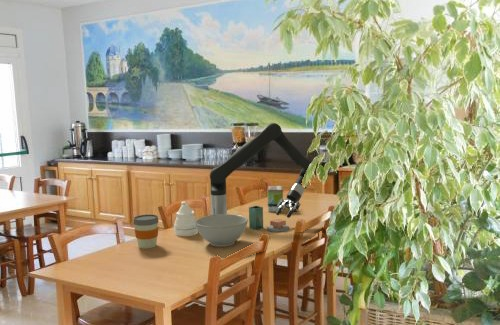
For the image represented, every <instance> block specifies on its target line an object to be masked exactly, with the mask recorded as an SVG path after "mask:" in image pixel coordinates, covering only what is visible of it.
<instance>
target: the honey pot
mask: <svg viewBox="0 0 500 325" xmlns="http://www.w3.org/2000/svg"><path fill="white" fill-rule="evenodd" d="M180 203H181V205H180V208H179V209H178V211H177V212H175V214H176V218H175V221H174V225H173V229H174V236H177V237H189V236H190V237H191V236H195V235H196V234H198V233H199V232H198V230H197V227H196V224H195V221H196V220H197V219H196V216H195V215H194V214H195V211H194V210H192V208H191V207H190V206H189V205H188V204H187V202H186V201H180Z"/></svg>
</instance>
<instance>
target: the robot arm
mask: <svg viewBox="0 0 500 325" xmlns="http://www.w3.org/2000/svg"><path fill="white" fill-rule="evenodd" d="M272 141H274V142H275V143H277V145H279V147H280V148H281V149H282V151H283V152H284V153H285V154H286V155H287V156H288V158H289V159H290V160H291V161H292V162H293V164H295V165H296V166H298V167H301V168H302V169H301V170H300V172H299V174H298V177H297V179H296V181H295V182H294V183H293V185H292V186H291V188H289V191H288V193H287V194H286V198H285V199H284V197H283V198H282V199H281V200H280V202H279V203H278V205H277V207H278V210H277V211H276V212H275V214H276V216H279V215H280V214H281V212H283V211H284V209H285V210H286V209H289V210H288V212H287V214H286V217H287V218H288V219H290V218H291V216H292V215H293V214H294V213H297V212H298V210H299V208H300V206H301V203H300V200H301V198H302V197H303V195H304V193H305V190H306V189H307V187H305V188H303V187H302V184H301V183H302V179H303V177H304V174H305V172H306V170H307V168H308V166H309V164H310V163H311V162H312V161H311V160H310V159H308V157H305V156H304V154H303V153H302V152H301V151H300V150H299V149H298V148H297V147H296V146H295V145H294V144H293V143H292V142H291V141H290V140H289V138H287V137H286V135H285V133H284V131H282V128H281V126H280V125H279V123H276V122H271V123H269V124H268V125H266V127H265V128H264V129H263V130H262V131H260V133H259V134H258V135H256V136H255V137H253V138H252V139H250V140H249V141H247V142H245V143H244V144H243V145H241V147H239V148H238V149H236V150H235V152H233V153H232V154H231V155H230V157H229V158H228V159H227V160H226V161H224V162H223V163H222V164H221V165H219V166H215V167H213V168H212V169H211V170H210V173H209V179H210V206H209V211H210V212H209V214H210V215H219V214H228V210H227V209H228V208H227V207H228V206H227V204H228V203H227V178H228V177H230V175H231V174H232V173H234V172H235V171H236V170H237V169H240V168H241V167H242V166H243V165H245V164H246V163H247V162H249V161H250V160H252V159H253V158H254V157H255V156H256V155H257V154H259V153H260V152H261V150H262V149H263V148H264V147H266V146H267V145H269V144H270V143H271V142H272ZM279 205H280V206H279ZM281 207H282V208H281ZM282 210H283V211H282ZM210 215H209V216H210Z"/></svg>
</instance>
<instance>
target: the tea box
mask: <svg viewBox="0 0 500 325" xmlns="http://www.w3.org/2000/svg"><path fill="white" fill-rule="evenodd" d="M266 194H267V210H268V212H270V213H273V212H275V213H276V211H277V210H278V207H277V205H278V203H279V202H280V200H281V199H282V198H283V199H284V190H283V186H282V185H268V186H267V193H266ZM279 206H280V205H279ZM281 208H282V207H281ZM283 211H284V209H283V210H282V211H281V212H283Z"/></svg>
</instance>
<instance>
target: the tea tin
mask: <svg viewBox="0 0 500 325" xmlns="http://www.w3.org/2000/svg"><path fill="white" fill-rule="evenodd" d="M248 221H249V222H248V225H249V226H248V227H249V229H252V230H255V229H256V230H259V229H264V207H263V206H259V205H253V206H248Z"/></svg>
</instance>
